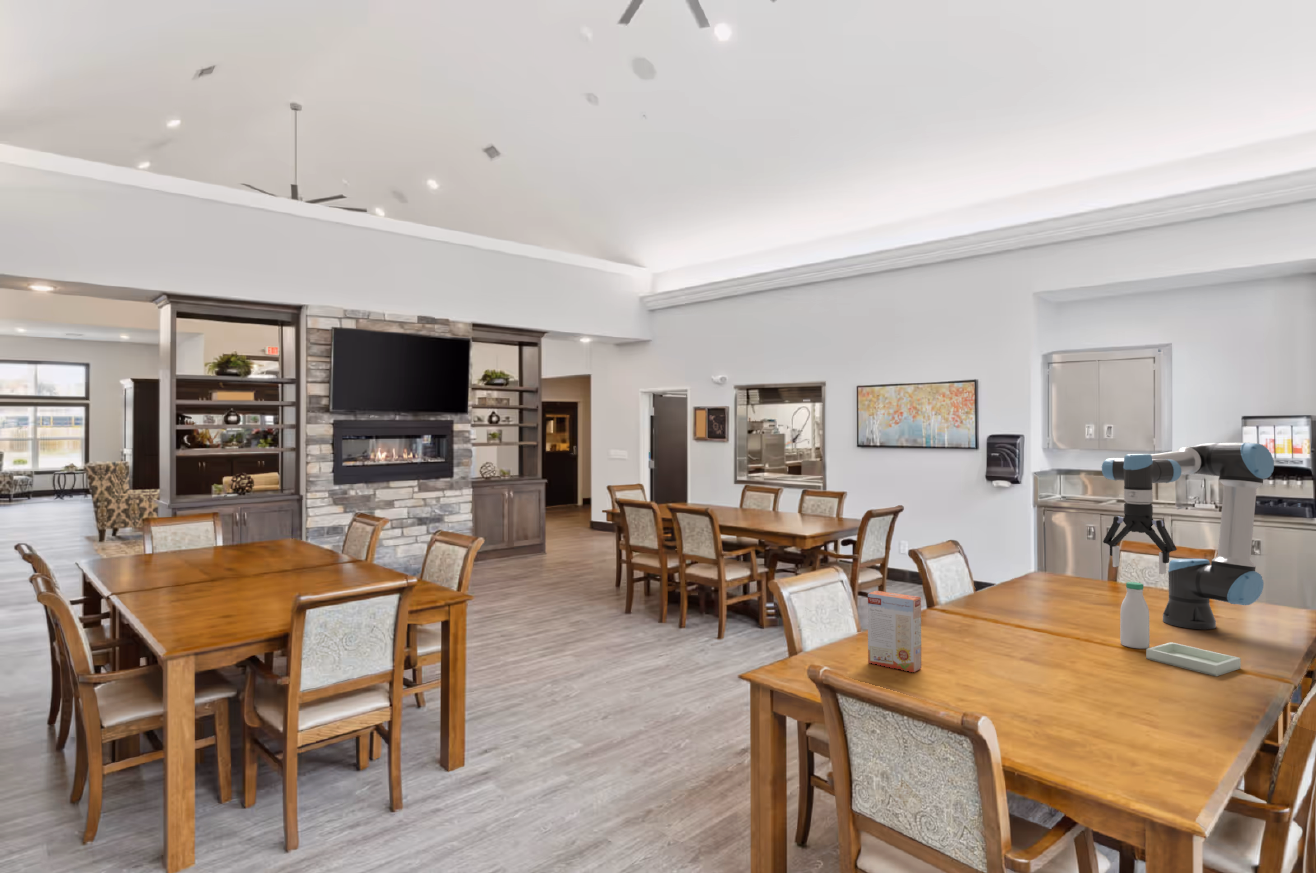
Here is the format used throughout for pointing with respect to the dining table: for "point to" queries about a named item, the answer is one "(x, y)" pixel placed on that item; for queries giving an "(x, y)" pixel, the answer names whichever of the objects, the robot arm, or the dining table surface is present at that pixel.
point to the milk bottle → (1134, 618)
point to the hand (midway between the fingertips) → (1138, 569)
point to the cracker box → (894, 630)
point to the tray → (1193, 658)
